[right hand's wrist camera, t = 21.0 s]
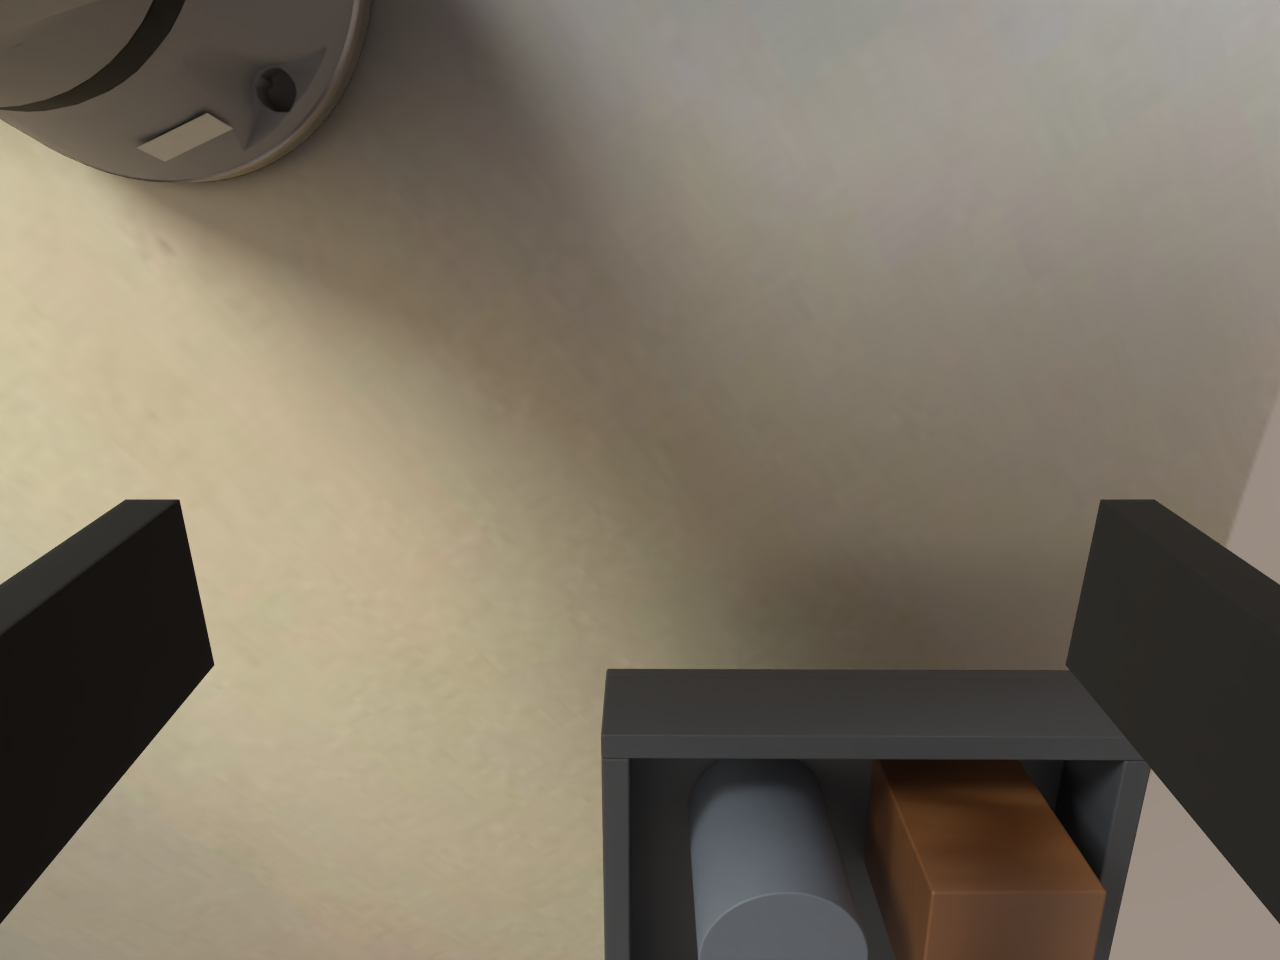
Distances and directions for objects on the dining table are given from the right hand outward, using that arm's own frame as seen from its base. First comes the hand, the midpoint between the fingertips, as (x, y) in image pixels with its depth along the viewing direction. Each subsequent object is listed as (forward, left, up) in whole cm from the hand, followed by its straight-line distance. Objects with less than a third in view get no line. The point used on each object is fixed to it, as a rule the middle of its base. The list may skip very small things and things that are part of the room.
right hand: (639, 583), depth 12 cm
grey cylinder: (+4, -14, -12) cm, 19 cm away
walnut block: (+10, -14, -12) cm, 21 cm away
